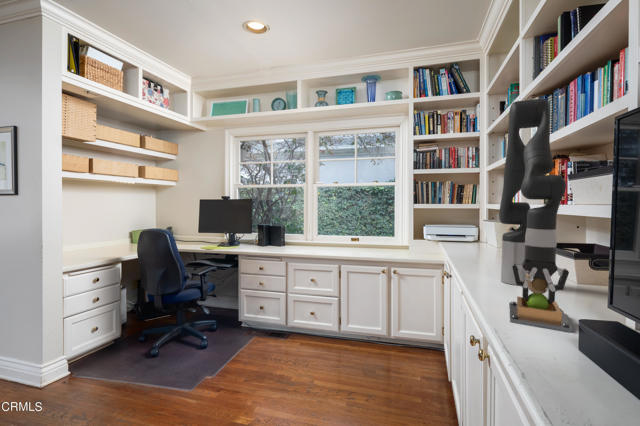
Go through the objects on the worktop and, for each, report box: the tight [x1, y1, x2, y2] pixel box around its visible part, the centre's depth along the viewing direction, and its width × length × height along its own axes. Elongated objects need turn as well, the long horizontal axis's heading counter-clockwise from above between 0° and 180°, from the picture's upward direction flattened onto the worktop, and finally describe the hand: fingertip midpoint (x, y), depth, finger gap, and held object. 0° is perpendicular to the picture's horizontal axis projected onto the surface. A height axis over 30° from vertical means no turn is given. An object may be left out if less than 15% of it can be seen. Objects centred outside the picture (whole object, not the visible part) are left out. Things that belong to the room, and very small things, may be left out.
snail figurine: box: [526, 270, 549, 310], centre depth 94 cm, size 5×6×12 cm
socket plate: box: [508, 296, 573, 333], centre depth 94 cm, size 16×14×4 cm
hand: (537, 301), depth 94 cm, fingers closed on snail figurine, 5 cm apart
